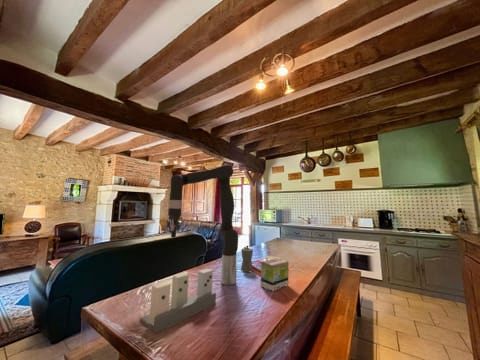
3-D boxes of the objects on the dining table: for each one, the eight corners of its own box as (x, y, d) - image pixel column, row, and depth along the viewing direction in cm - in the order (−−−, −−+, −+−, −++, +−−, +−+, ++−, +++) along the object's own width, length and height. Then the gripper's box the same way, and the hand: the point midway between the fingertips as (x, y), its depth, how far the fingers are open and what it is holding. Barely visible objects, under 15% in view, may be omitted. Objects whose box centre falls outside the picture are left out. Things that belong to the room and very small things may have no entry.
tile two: (170, 307, 91) (172, 275, 93) (182, 303, 96) (183, 272, 97) (176, 311, 88) (178, 278, 90) (187, 306, 93) (189, 274, 95)
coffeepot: (255, 272, 145) (255, 247, 148) (242, 273, 143) (243, 247, 146) (249, 266, 160) (250, 243, 163) (238, 266, 158) (238, 243, 160)
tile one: (149, 322, 80) (151, 285, 81) (163, 316, 84) (165, 281, 86) (154, 326, 77) (157, 288, 78) (168, 320, 81) (171, 284, 83)
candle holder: (281, 274, 143) (281, 257, 145) (277, 278, 134) (277, 260, 136) (268, 272, 147) (268, 255, 149) (264, 276, 138) (264, 258, 140)
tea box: (273, 292, 113) (273, 265, 115) (260, 286, 120) (260, 261, 122) (288, 285, 123) (288, 261, 124) (276, 281, 130) (276, 257, 132)
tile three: (196, 301, 98) (198, 271, 100) (206, 296, 103) (207, 268, 104) (202, 304, 95) (204, 273, 97) (212, 299, 100) (213, 270, 102)
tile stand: (140, 320, 83) (141, 307, 84) (198, 295, 107) (199, 285, 107) (156, 333, 75) (157, 319, 75) (215, 303, 99) (216, 292, 99)
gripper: (163, 207, 121) (161, 236, 119) (176, 208, 113) (174, 239, 111) (174, 207, 127) (172, 235, 125) (187, 208, 119) (185, 237, 117)
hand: (173, 237), depth 118 cm, fingers closed
